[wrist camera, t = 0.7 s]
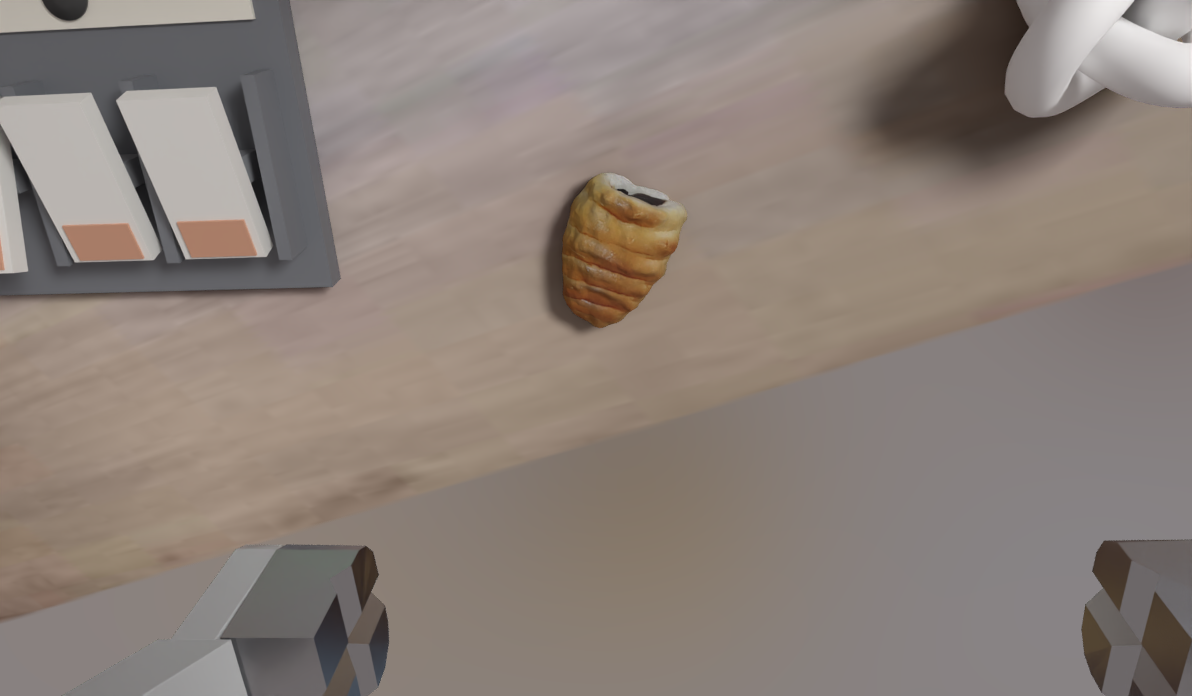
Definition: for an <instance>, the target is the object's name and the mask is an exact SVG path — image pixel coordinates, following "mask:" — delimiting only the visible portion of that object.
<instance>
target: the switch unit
mask: <svg viewBox="0 0 1192 696" xmlns="http://www.w3.org/2000/svg"><path fill="white" fill-rule="evenodd" d="M201 87H216V88H217V91H218V93H219V96H220V99H221V102H222V104H223V107H224V110H225V113H226V116H227V118H228V121H229V124H230V127H231V129H232V132H233V135H234V138H235V141H236V143H237V146H238V149H239V152H240V154H241V157H242V160H243V163H244V166H245V168H246V171H247V174H248V177H249V179H250V182H251V185H252V188H253V191H254V193H255V196H256V199H257V202H258V204H259V207H260V210H261V213H262V216H263V218H264V221H265V224H266V227H267V229H268V232H269V235H270V238H271V241H272V243H273V247H272V249H271V250H270V252H269V254H268V255H267V257H247V258H212V259H185V256H184V254H183V252H182V250H181V247H180V245H179V243H178V240H177V238H176V236H175V234H174V231H173V229H172V227H171V225H170V222H169V220H168V218H167V215H166V213H165V211H164V209H163V206H162V204H161V202H160V200H159V197H158V195H157V193H156V190H155V188H154V186H153V184H152V181H151V179H150V177H149V175H148V172H147V170H146V168H145V166H144V163H143V161H142V159H141V156H140V154H139V152H138V150H137V147H136V145H135V143H134V141H133V138H132V136H131V134H130V131H129V129H128V127H127V125H126V122H125V120H124V118H123V116H122V113H121V111H120V109H119V106H118V104H117V102H116V100H117V99H118V98H119V97H120V96H121V95H123V94H124V93H125V92H126V91H136V90H158V89H179V88H201ZM72 93H92V96H93V98H94V100H95V102H96V104H97V107H98V109H99V111H100V113H101V115H102V118H103V120H104V122H105V124H106V126H107V129H108V131H109V133H110V135H111V137H112V139H113V142H114V144H115V146H116V148H117V150H118V153H119V155H120V157H121V159H122V161H123V164H124V166H125V168H126V170H127V172H128V175H129V177H130V179H131V181H132V183H133V186H134V188H135V190H136V192H137V194H138V196H139V199H140V201H141V203H142V205H143V207H144V210H145V212H146V214H147V216H148V218H149V221H150V223H151V225H152V227H153V229H154V232H155V234H156V236H157V238H158V240H159V242H160V245H161V247H162V250H161V252H160V253H159V254H158V255H157V257H156V258H155V259H154V260H143V261H108V262H74V260H73V258H72V256H71V254H70V252H69V250H68V249H67V247H66V245H65V243H64V241H63V239H62V237H61V236H60V234H59V232H58V230H57V228H56V226H55V224H54V223H53V221H52V219H51V217H50V215H49V213H48V211H47V210H46V208H45V206H44V204H43V202H42V200H41V198H40V197H39V195H38V193H37V191H36V189H35V187H34V185H33V184H32V182H31V180H30V178H29V176H28V174H27V172H26V171H25V169H24V167H23V165H22V163H21V161H20V159H19V158H18V156H17V154H16V152H15V150H14V148H13V146H12V144H11V143H10V146H11V153H12V160H13V167H14V174H15V181H16V188H17V195H18V202H19V209H20V216H21V223H22V230H23V238H24V245H25V252H26V259H27V266H28V271H27V272H19V273H1V274H0V295H32V294H71V293H111V292H150V291H189V290H229V289H268V288H307V287H333V286H334V285H335V284H336V283H337V282H338V281H339V280H340V279H341V278H340V272H339V267H338V262H337V256H336V251H335V245H334V240H333V235H332V229H331V224H330V218H329V213H328V208H327V202H326V197H325V191H324V186H323V181H322V175H321V170H320V164H319V159H318V154H317V148H316V143H315V137H314V132H313V127H312V121H311V116H310V110H309V105H308V100H307V94H306V89H305V83H304V78H303V73H302V67H301V62H300V56H299V51H298V46H297V40H296V35H295V29H294V24H293V19H292V13H291V8H290V2H289V0H0V96H2V97H7V96H29V95H50V94H72Z"/></svg>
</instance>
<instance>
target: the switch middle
mask: <svg viewBox="0 0 1192 696" xmlns="http://www.w3.org/2000/svg"><path fill="white" fill-rule="evenodd" d="M0 124H1V126H2V128H3V130H4V131H5V133H6V135H7V137H8V139H9V141H10V143H11V144H12V146H13V148H14V150H15V152H16V154H17V156H18V158H19V159H20V161H21V163H22V165H23V167H24V169H25V171H26V172H27V174H28V176H29V178H30V180H31V182H32V184H33V185H34V187H35V189H36V191H37V193H38V195H39V197H40V198H41V200H42V202H43V204H44V206H45V208H46V210H47V211H48V213H49V215H50V217H51V219H52V221H53V223H54V224H55V226H56V228H57V230H58V232H59V234H60V236H61V237H62V239H63V241H64V243H65V245H66V247H67V249H68V250H69V252H70V254H71V256H72V258H73V260H74V262H108V261H143V260H154V259H155V258H156V257H157V255H158V254H159V253H160V252H161V250H162V247H161V245H160V242H159V240H158V238H157V236H156V234H155V232H154V229H153V227H152V225H151V223H150V221H149V218H148V216H147V214H146V212H145V210H144V207H143V205H142V203H141V201H140V199H139V196H138V194H137V192H136V190H135V188H134V186H133V183H132V181H131V179H130V177H129V175H128V172H127V170H126V168H125V166H124V164H123V161H122V159H121V157H120V155H119V153H118V150H117V148H116V146H115V144H114V142H113V139H112V137H111V135H110V133H109V131H108V129H107V126H106V124H105V122H104V120H103V118H102V115H101V113H100V111H99V109H98V107H97V104H96V102H95V100H94V98H93V96H92V93H72V94H50V95H29V96H7V97H3V98H1V99H0Z"/></svg>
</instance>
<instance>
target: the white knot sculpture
mask: <svg viewBox="0 0 1192 696" xmlns="http://www.w3.org/2000/svg"><path fill="white" fill-rule="evenodd" d="M1016 2H1017V5H1018V6H1019V8H1020V10H1021V13H1022V15H1023V18H1024V20H1025V22H1026V23H1027V25H1028V27H1029V29H1028V30H1027V32H1026V33H1025V35H1024V36H1023V38H1022V39H1021V41H1020V43H1019V45H1018V46H1017V48H1016V50H1015V51H1014V53H1013V55H1012V57H1011V60H1010V62H1009V64H1008V68H1007V71H1006V80H1005V95H1006V97H1007V99H1008V100H1009V102H1010V104H1011V106H1012V107H1013V109H1014V110H1015V111H1017V112H1019V113H1021V114H1023V115H1025V116H1027V117H1032V118H1036V117H1049V116H1054V115H1057V114H1059V113H1062V112H1064V111H1066V110H1068V109H1070V108H1072V107H1074V106H1076V105H1077V104H1079V103H1081V102H1083V101H1084V100H1086V99H1088V98H1089V97H1091V96H1093V95H1094V94H1096V93H1098V92H1099V91H1101V90H1102V89H1104V88H1108V89H1109V90H1111V91H1113V92H1115V93H1117V94H1120V95H1122V96H1124V97H1127V98H1130V99H1133V100H1135V101H1139V102H1143V103H1146V104H1151V105H1156V106H1161V107H1172V108H1188V107H1192V0H1016ZM1179 38H1182V41H1183V43H1182V42H1178V41H1176V40H1178V39H1179Z"/></svg>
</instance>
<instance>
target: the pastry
mask: <svg viewBox="0 0 1192 696" xmlns="http://www.w3.org/2000/svg"><path fill="white" fill-rule="evenodd" d="M686 220H687V212H686V210H685V208H684V206H683V205H682V204H680V203H677V202H674V201H671V200H670V199H669V197H668V196H667V195H665V194H664V193H662V192H659V191H657V190H655V189H648V188H646V187H642V186H636V185H634V184H633V183H631V181H630V180H628V179H627V178H625V177H623V176H620V175H617V174H614V173H601V174H598V175H597V176H595V177H593V178H592V179H591V180H589V182H588V183H587V185H586V186H585V188H584V189H583V190H582V191H581V193H580V194H579V195H578V196H577V197H576V198H575V199H574V200H573V203H572V205H571V210H570V217H569V220H568V222H567V228H566V230H565V233H564V235H563V249H562V261H563V265H562V272H563V296H564V299H565V301H566V303H567V305H568V306H569V308H570V309H571V310H572V312H573V313H574V314H576V315H577V316H578V317H580V318H582V319H584V320H586V321H588V322H590V323H591V324H592V325H593V326H595V327H598V328H603V327H606V326H608V325H610V324H614V323H617V322H619V321H621V320H622V319H623V318H624V317H625V316H626V315H627V314H628V313H629V312H631V311H632V310H634V309H635V308H637V306H638V304H639V303H640V302H641V301H642V300H643V299H644V298H645V296H646V295H647V294H648V292H649V291H650V289H651V287H652V285H653V284H654V283H656V282H657V281H658V280H659V279H660V278H661V277H662V276H664V275H665V272H666V267H667V262H668V260H669V257H670V255H671V254H672V253H673V252H674V251H675V249H676V248H677V245H678V241H679V234H680V231H681V228H682V225H683V223H684V222H685V221H686Z"/></svg>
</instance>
